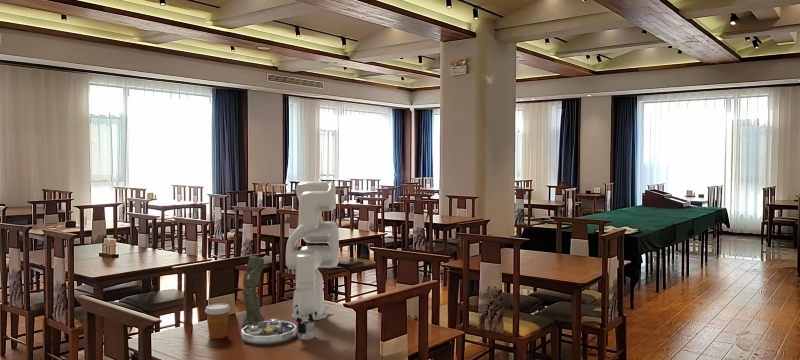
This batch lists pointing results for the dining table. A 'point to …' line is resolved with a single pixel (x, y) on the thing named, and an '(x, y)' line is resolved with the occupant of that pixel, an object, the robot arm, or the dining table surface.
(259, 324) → the tray
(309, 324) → the grey hollow boxy piece
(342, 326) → the dining table surface
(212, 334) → the disposable coffee cup
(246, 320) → the mechanical leg
